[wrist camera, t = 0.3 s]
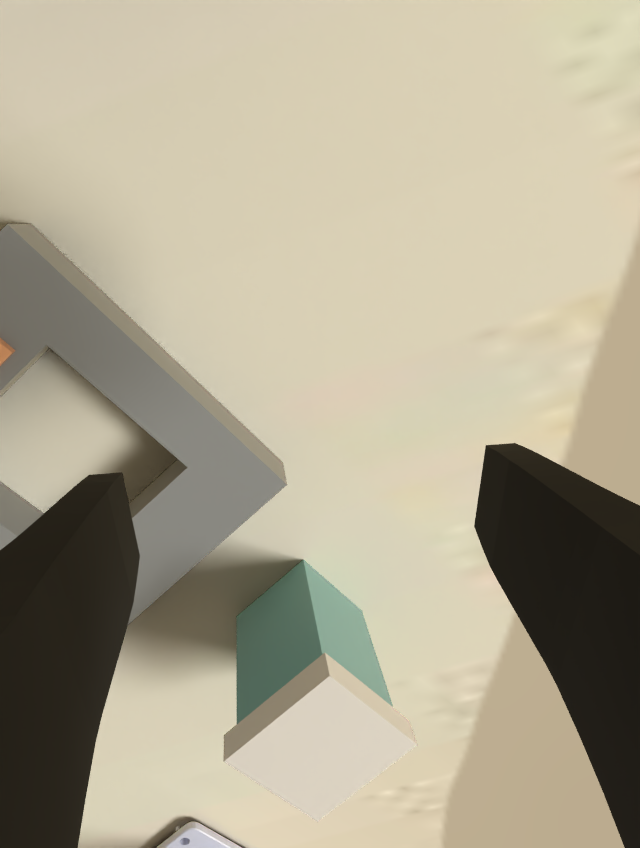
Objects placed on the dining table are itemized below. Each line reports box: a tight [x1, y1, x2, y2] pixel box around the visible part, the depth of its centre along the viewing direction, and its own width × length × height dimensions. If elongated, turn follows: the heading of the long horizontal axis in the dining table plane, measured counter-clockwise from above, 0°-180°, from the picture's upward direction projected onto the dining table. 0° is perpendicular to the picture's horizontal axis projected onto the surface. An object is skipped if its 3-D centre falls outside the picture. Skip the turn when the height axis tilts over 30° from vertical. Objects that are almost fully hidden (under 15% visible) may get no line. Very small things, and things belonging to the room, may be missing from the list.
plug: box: [224, 560, 418, 822], centre depth 21 cm, size 5×5×7 cm
